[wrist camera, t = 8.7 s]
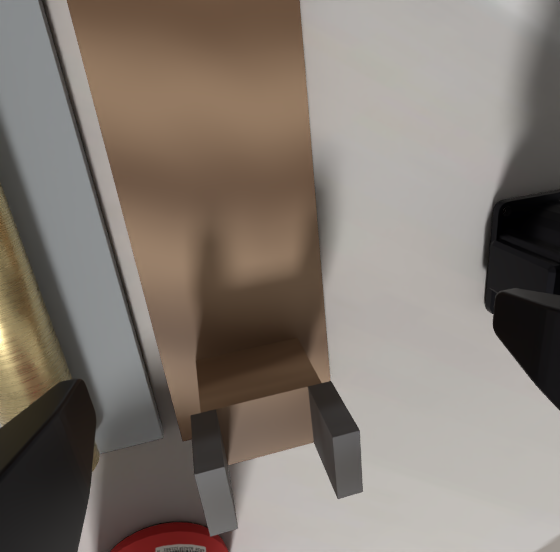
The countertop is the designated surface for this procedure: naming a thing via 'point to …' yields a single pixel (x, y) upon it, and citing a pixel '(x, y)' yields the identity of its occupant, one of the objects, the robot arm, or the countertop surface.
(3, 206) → the rail
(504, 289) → the robot arm
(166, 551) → the canned food
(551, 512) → the countertop surface
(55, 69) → the mat
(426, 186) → the countertop surface
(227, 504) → the stand
